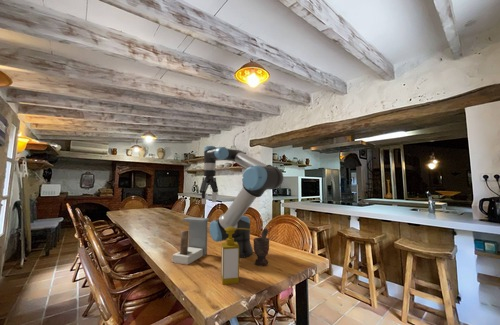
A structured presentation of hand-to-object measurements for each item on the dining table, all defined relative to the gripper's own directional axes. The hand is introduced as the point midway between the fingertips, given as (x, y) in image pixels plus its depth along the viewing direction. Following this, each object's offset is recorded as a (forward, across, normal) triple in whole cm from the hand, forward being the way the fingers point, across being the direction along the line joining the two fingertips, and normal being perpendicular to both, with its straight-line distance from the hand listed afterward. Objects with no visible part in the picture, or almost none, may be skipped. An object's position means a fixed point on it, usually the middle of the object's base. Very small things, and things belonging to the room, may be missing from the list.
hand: (209, 203), depth 137 cm
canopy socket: (+31, +12, -6) cm, 33 cm away
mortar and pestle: (+31, +9, +38) cm, 49 cm away
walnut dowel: (+31, +17, -7) cm, 36 cm away
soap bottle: (+31, +29, +30) cm, 52 cm away
